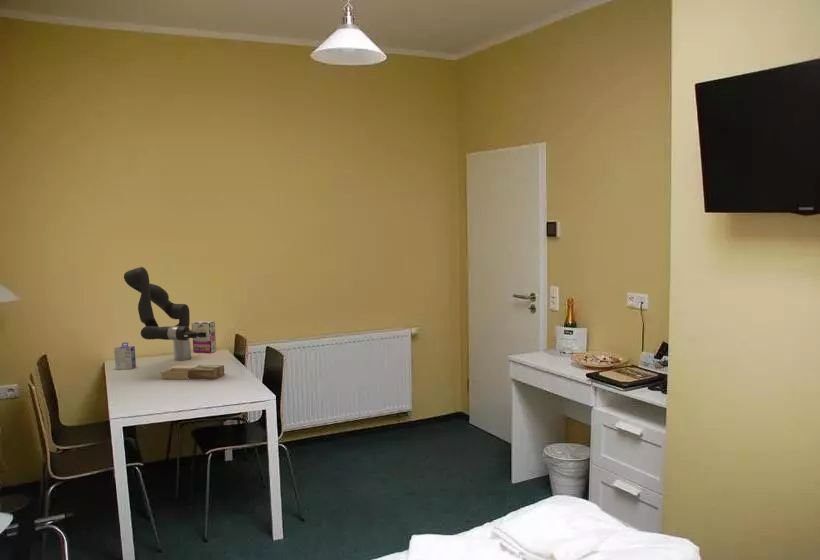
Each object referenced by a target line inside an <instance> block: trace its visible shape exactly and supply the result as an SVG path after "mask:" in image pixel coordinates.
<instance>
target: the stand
mask: <svg viewBox="0 0 820 560" xmlns="http://www.w3.org/2000/svg"><path fill="white" fill-rule="evenodd" d="M196 366H197V367H194V368H192V369H190V370H188V374H189V379H188V380H190V379H215V378H216V379H218V378H220V377H222V376H224V375H225V365H222V364H221V365H220V364H219V365H218V364H215V365H214V364H198V365H196ZM223 374H224V375H223ZM221 375H222V376H221ZM219 376H220V377H219ZM217 377H218V378H217ZM216 379H215V380H216Z"/></svg>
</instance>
